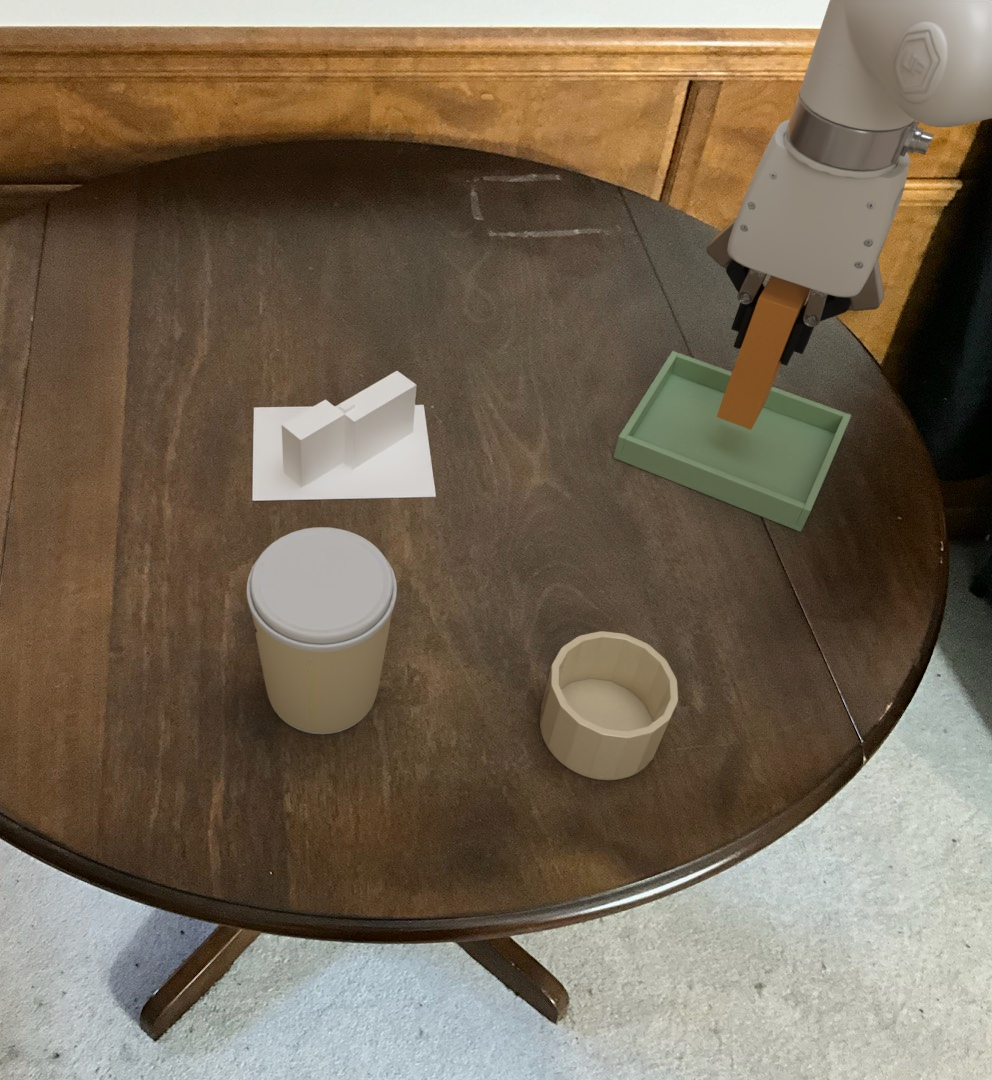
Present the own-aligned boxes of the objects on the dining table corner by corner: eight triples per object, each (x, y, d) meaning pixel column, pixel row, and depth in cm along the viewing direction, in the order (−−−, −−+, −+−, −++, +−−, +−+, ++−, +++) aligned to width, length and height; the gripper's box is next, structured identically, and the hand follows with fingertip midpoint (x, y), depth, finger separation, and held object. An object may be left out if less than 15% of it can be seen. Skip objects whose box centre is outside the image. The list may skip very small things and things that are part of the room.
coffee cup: (311, 613, 82) (309, 501, 73) (415, 677, 79) (426, 568, 70) (227, 698, 77) (214, 589, 68) (335, 770, 73) (336, 666, 64)
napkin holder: (423, 403, 98) (427, 352, 94) (437, 496, 90) (443, 445, 86) (252, 407, 97) (248, 355, 92) (252, 502, 89) (248, 451, 85)
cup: (675, 709, 78) (695, 664, 74) (633, 801, 73) (651, 758, 69) (567, 660, 80) (580, 613, 76) (520, 745, 75) (531, 700, 71)
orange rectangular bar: (767, 398, 93) (814, 279, 84) (751, 430, 91) (798, 310, 82) (732, 386, 94) (776, 267, 85) (716, 417, 92) (758, 297, 83)
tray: (841, 436, 97) (851, 414, 95) (800, 532, 89) (810, 511, 87) (666, 371, 102) (672, 350, 100) (612, 457, 94) (618, 436, 92)
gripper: (984, 140, 74) (879, 357, 87) (745, 73, 78) (682, 288, 92) (963, 192, 69) (856, 411, 83) (711, 118, 74) (650, 337, 88)
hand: (765, 345), depth 87 cm, fingers closed on orange rectangular bar, 3 cm apart
